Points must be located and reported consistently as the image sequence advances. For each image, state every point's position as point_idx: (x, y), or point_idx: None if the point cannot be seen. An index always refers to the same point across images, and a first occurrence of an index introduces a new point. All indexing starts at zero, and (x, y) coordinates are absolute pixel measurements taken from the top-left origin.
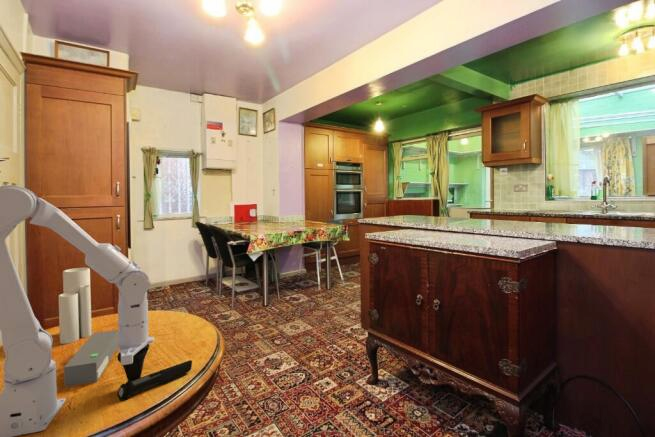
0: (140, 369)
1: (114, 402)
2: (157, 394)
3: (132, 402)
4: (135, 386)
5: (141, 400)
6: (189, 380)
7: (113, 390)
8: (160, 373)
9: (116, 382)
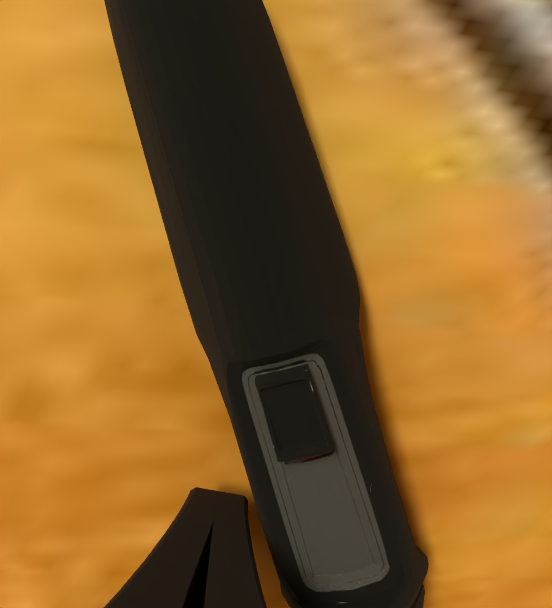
0: (262, 604)
1: None
2: (497, 353)
3: (486, 515)
4: (413, 558)
5: (504, 463)
6: (429, 17)
7: None
8: (302, 356)
9: (108, 589)
